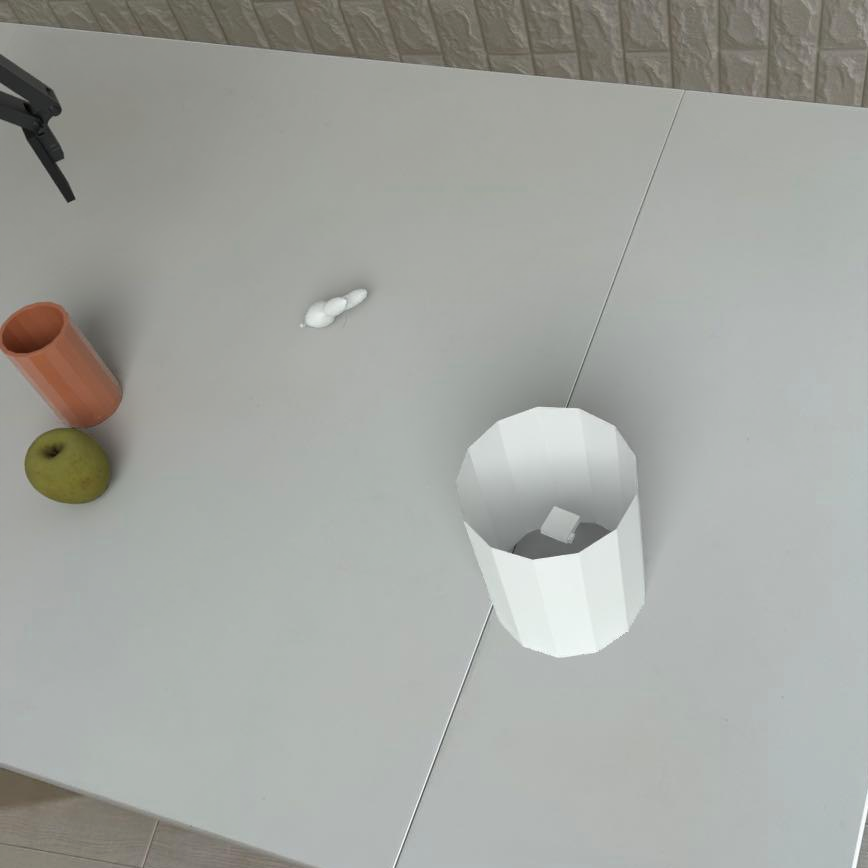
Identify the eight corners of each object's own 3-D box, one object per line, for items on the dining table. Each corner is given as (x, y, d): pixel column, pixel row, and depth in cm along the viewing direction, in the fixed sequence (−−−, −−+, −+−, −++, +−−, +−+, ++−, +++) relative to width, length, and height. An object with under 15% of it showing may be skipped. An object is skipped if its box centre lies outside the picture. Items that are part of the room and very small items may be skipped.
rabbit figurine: (310, 305, 120) (362, 275, 117) (328, 336, 121) (380, 307, 118) (284, 319, 115) (338, 288, 112) (303, 351, 116) (357, 321, 113)
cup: (49, 428, 116) (-13, 357, 105) (69, 376, 119) (11, 302, 109) (111, 428, 115) (54, 356, 104) (130, 375, 118) (77, 300, 108)
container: (600, 682, 92) (582, 586, 77) (463, 619, 97) (420, 517, 82) (671, 553, 98) (667, 440, 83) (538, 499, 103) (512, 383, 88)
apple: (75, 451, 114) (40, 411, 107) (136, 466, 111) (104, 426, 105) (37, 508, 110) (-1, 470, 104) (99, 525, 108) (64, 487, 102)
